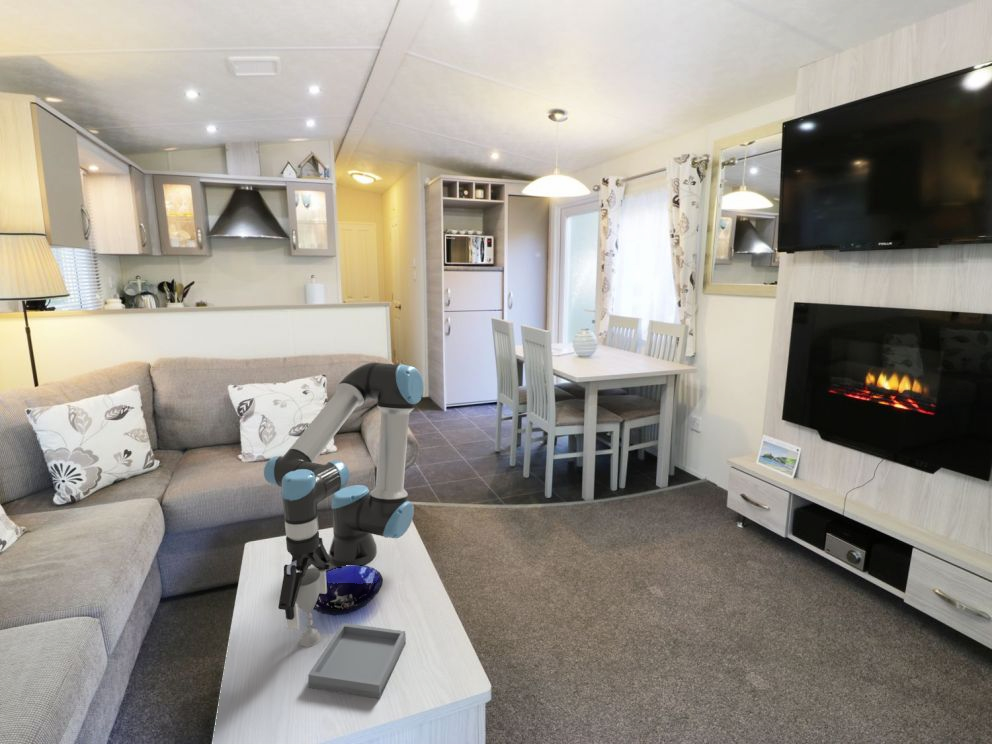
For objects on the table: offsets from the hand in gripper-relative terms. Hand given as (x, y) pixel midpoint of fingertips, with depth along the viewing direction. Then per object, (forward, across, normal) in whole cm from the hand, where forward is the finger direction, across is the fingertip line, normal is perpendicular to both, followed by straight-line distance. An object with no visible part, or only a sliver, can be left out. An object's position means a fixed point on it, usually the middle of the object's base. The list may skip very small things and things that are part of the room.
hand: (308, 609), depth 127 cm
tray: (+9, +6, +16) cm, 19 cm away
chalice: (+9, 0, 0) cm, 9 cm away
